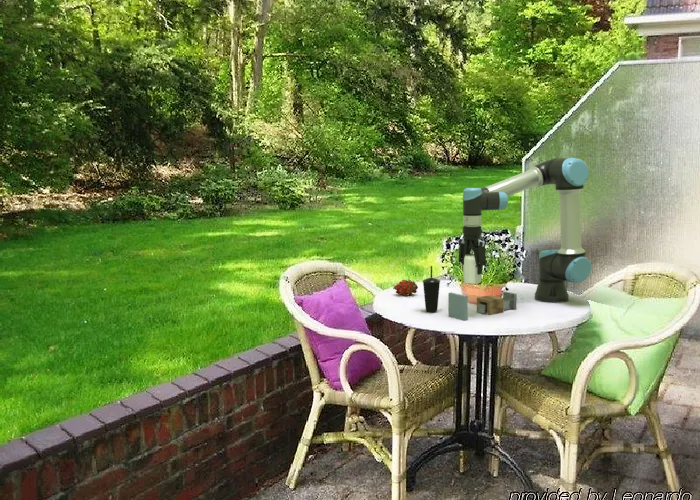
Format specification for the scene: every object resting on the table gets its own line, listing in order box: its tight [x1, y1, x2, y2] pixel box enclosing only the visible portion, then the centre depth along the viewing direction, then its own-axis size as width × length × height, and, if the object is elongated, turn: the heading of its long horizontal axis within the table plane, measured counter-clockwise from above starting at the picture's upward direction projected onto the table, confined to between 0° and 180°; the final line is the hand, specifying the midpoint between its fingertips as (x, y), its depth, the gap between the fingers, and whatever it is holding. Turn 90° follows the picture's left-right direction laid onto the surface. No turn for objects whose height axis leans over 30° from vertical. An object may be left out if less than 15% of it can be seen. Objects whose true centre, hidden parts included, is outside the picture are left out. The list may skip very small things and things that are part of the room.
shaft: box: [477, 291, 518, 314], centre depth 301 cm, size 18×6×7 cm, turn 123°
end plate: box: [447, 291, 469, 322], centre depth 289 cm, size 2×10×10 cm, turn 33°
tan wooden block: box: [476, 295, 504, 316], centre depth 299 cm, size 8×8×6 cm
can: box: [463, 253, 481, 285], centre depth 291 cm, size 6×6×12 cm
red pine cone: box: [392, 279, 419, 297], centre depth 338 cm, size 8×8×12 cm
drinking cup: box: [422, 265, 441, 314], centre depth 301 cm, size 8×8×20 cm
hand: (471, 280), depth 291 cm, fingers closed on can, 6 cm apart
